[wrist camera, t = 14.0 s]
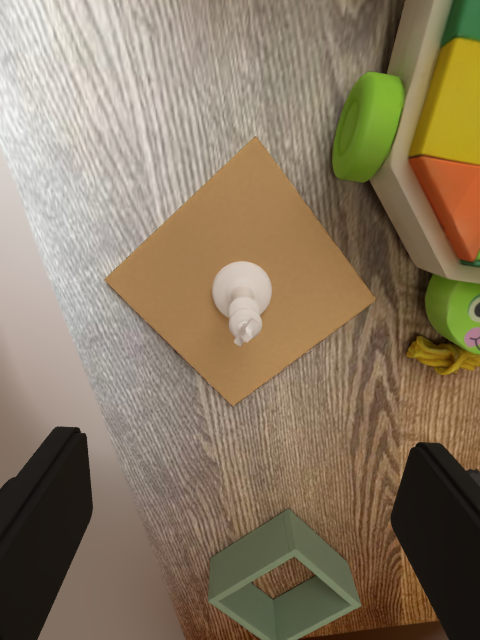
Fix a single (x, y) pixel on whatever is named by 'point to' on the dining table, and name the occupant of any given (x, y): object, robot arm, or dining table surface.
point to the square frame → (296, 604)
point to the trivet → (251, 246)
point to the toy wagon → (427, 163)
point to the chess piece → (242, 298)
